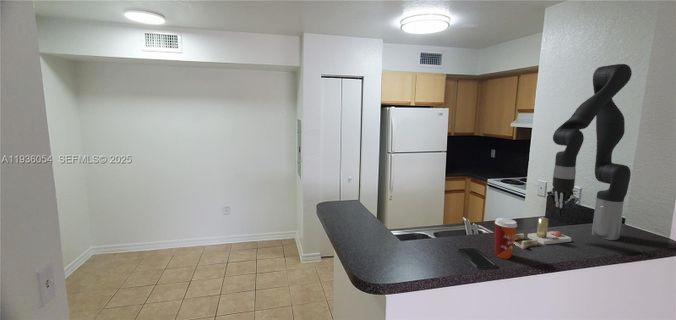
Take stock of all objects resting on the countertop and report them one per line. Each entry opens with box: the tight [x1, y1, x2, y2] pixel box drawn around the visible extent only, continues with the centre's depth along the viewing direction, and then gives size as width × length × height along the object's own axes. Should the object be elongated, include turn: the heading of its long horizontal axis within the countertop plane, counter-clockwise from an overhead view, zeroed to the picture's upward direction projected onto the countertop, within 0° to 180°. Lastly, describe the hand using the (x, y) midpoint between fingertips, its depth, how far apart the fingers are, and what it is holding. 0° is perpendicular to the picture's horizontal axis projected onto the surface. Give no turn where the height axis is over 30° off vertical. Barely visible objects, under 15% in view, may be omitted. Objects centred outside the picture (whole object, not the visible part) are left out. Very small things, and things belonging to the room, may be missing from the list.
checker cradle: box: [527, 230, 572, 245], centre depth 134 cm, size 14×8×3 cm, turn 104°
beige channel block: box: [514, 233, 539, 250], centre depth 131 cm, size 7×8×3 cm
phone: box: [458, 247, 498, 270], centre depth 117 cm, size 8×1×15 cm
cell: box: [536, 216, 549, 238], centre depth 132 cm, size 4×4×8 cm
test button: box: [553, 230, 563, 237], centre depth 135 cm, size 3×3×4 cm
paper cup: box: [494, 217, 518, 260], centre depth 119 cm, size 8×8×14 cm
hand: (560, 215), depth 134 cm, fingers closed
